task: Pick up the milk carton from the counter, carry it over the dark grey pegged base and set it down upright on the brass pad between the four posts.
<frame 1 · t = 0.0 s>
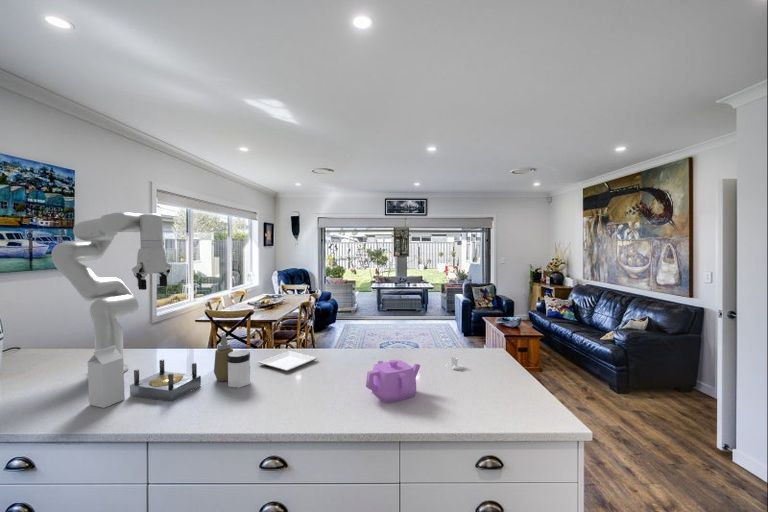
hand: (153, 287, 147), 37 cm above the table, tool pointing down, fingers open, 9 cm apart
milk carton: (107, 403, 127), on the table
plate: (288, 364, 166), on the table
teakettle: (393, 393, 136), on the table
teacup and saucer: (449, 369, 161), on the table
squeeze bottle: (224, 379, 148), on the table
jar: (239, 384, 143), on the table
grey pegged base: (166, 390, 137), on the table
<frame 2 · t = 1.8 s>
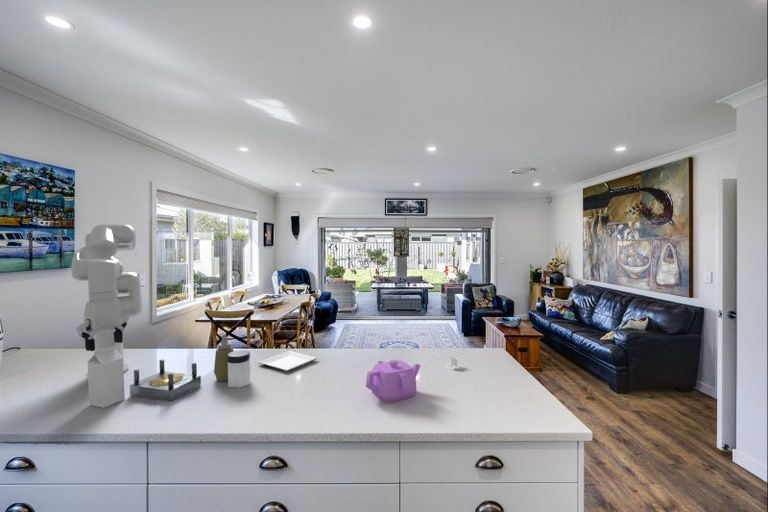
hand: (105, 346, 125), 20 cm above the table, tool pointing down, fingers open, 9 cm apart
nothing on the table moved.
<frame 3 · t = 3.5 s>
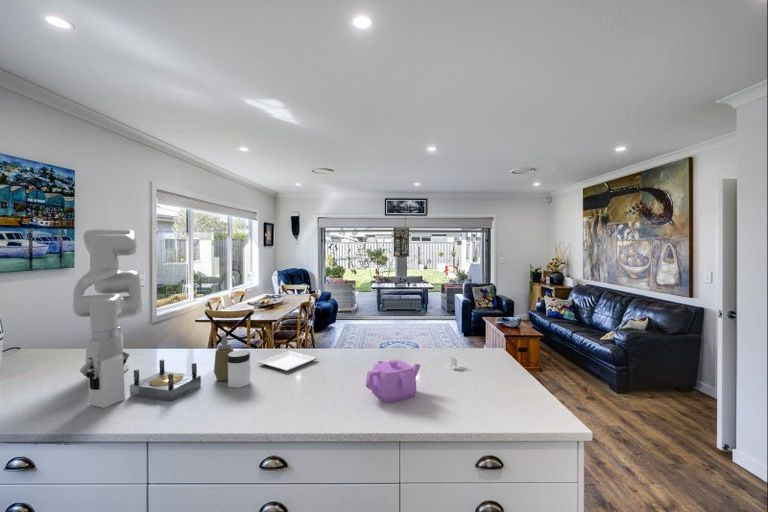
hand: (106, 384, 127), 6 cm above the table, tool pointing down, fingers closed on milk carton, 7 cm apart
milk carton: (107, 402, 127), on the table, touching gripper
everything else where it was.
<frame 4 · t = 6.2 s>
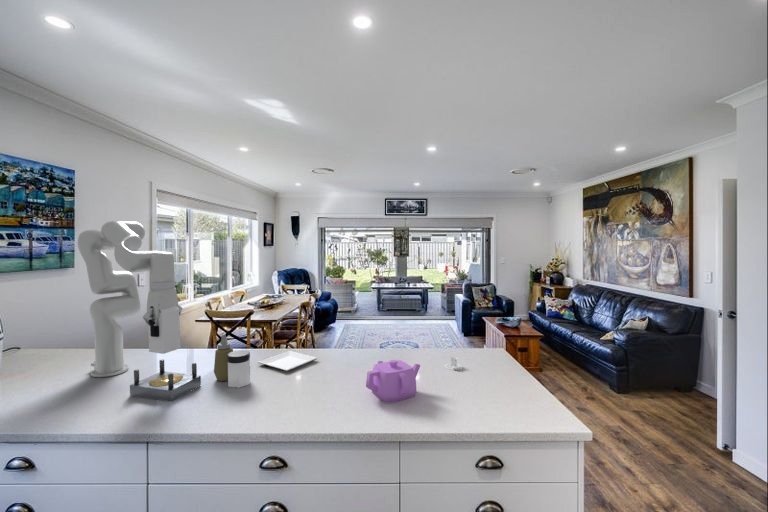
hand: (164, 333, 135), 22 cm above the table, tool pointing down, fingers closed on milk carton, 7 cm apart
milk carton: (165, 350, 136), point 15 cm above the table, touching gripper
everything else where it was.
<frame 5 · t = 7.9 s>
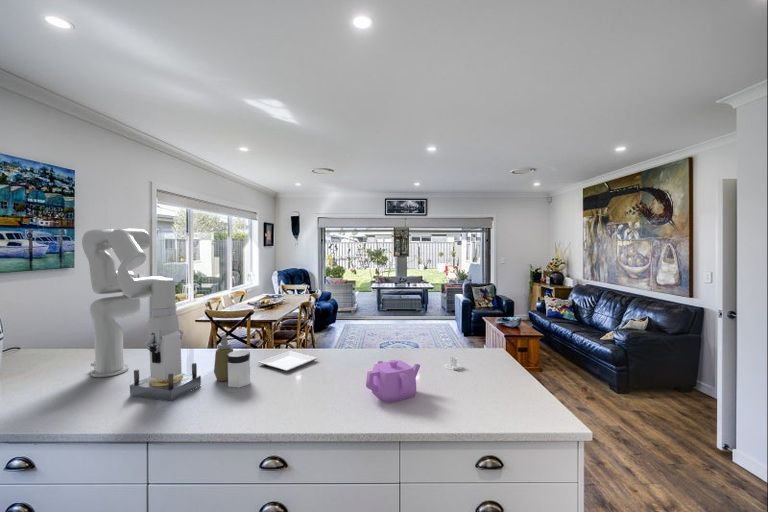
hand: (165, 358, 136), 12 cm above the table, tool pointing down, fingers closed on milk carton, 7 cm apart
milk carton: (166, 376, 136), point 5 cm above the table, touching gripper
everything else where it was.
when the fingers open (11 cm above the table, at t = 9.1 s): milk carton stays where it is, resting on grey pegged base.
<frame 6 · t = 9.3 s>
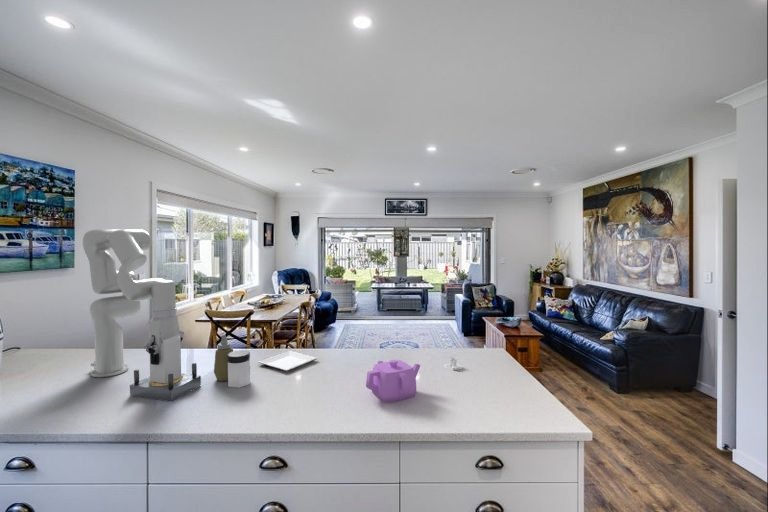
hand: (165, 359, 136), 12 cm above the table, tool pointing down, fingers open, 9 cm apart
milk carton: (165, 380, 136), point 4 cm above the table, touching grey pegged base
everything else where it was.
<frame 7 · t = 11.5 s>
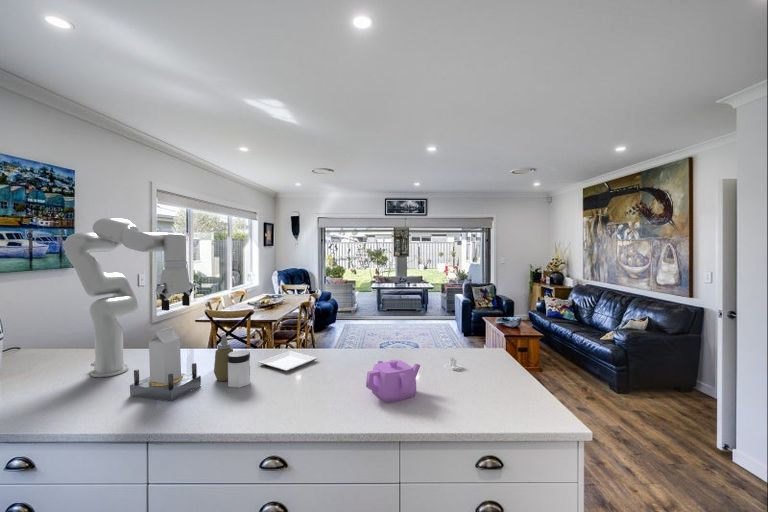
hand: (176, 307, 146), 29 cm above the table, tool pointing down, fingers open, 9 cm apart
nothing on the table moved.
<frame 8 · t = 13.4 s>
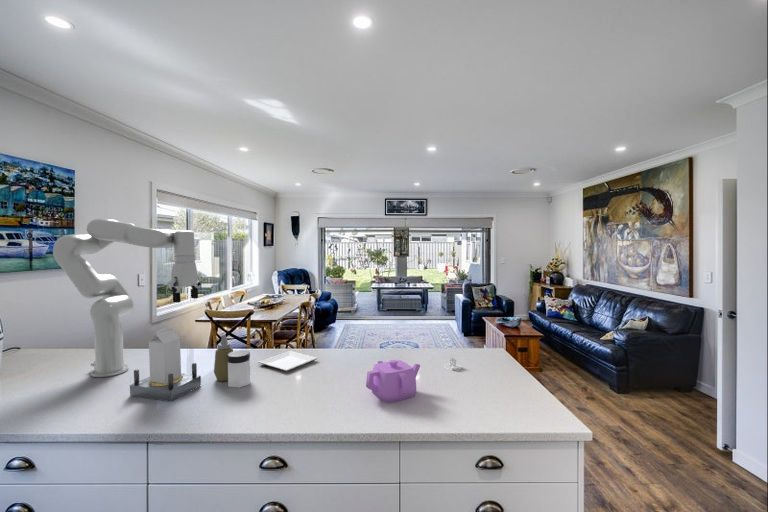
hand: (185, 300, 155), 30 cm above the table, tool pointing down, fingers open, 9 cm apart
nothing on the table moved.
at the end: milk carton inside the target area on the grey pegged base (0.2 cm from its centre), point 4.0 cm above the grey pegged base's base; milk carton tilted 0°; the gripper is holding nothing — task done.
